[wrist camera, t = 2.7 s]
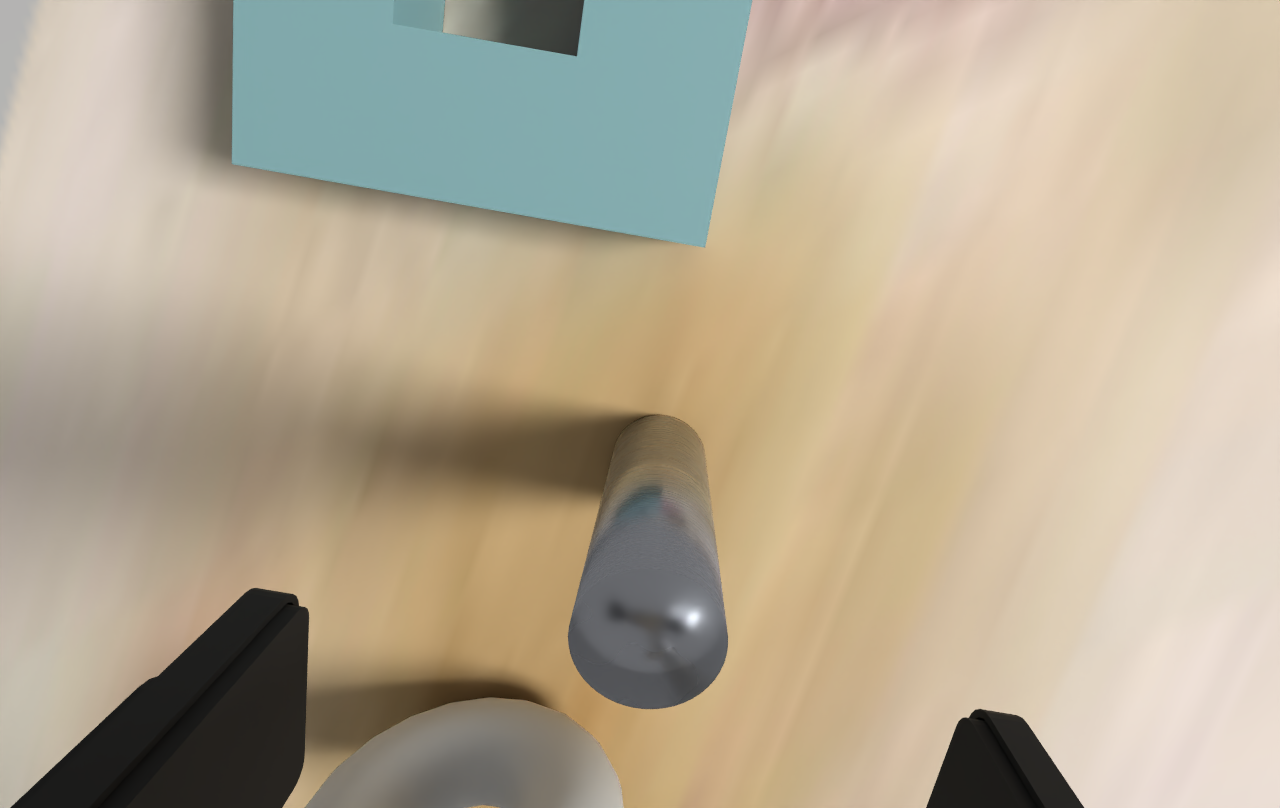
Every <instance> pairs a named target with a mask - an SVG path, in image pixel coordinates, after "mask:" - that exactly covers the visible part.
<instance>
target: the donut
mask: <svg viewBox="0 0 1280 808" xmlns="http://www.w3.org/2000/svg"><path fill="white" fill-rule="evenodd" d="M479 805H487V806H496V807H500V808H623V799H622V790H621V785H620V782H619V779H618V776H617V774H616V772H615V770H614V769H613V767H612V765H611V763H610V761H609V759H608V758H607V756H606V754H605V752H604V750H603V749H602V747H601V745H600V743H599V742H598V741H597V740H596V739H595V738H594V737H593V736H592V735H591V734H590V733H589V732H587V731H586V730H585V729H584V728H582V727H581V726H580V725H579V724H577V723H576V722H575V721H574V720H572V719H571V718H570V717H569V716H567V715H566V714H564V713H561V712H559V711H556V710H553V709H550V708H547V707H545V706H542V705H539V704H536V703H533V702H530V701H527V700H517V699H504V698H492V697H488V698H481V699H474V700H467V701H460V702H452V703H448V704H446V705H443V706H440V707H437V708H434V709H431V710H428V711H425V712H422V713H419V714H416V715H413V716H411V717H409V718H407V719H405V720H403V721H402V722H400V723H398V724H396V725H394V726H393V727H391V728H389V729H387V730H385V731H384V732H382V733H380V734H378V735H377V736H375V737H373V738H372V739H370V740H369V741H368V742H367V743H366V744H364V745H363V746H362V747H361V748H360V749H358V750H357V751H356V752H355V753H354V754H352V755H351V756H350V757H349V758H348V759H346V760H345V761H344V762H343V763H342V764H340V765H339V766H338V767H337V768H336V769H335V770H334V771H333V772H332V773H331V775H330V776H329V777H328V778H327V780H326V781H325V782H324V783H323V785H322V786H321V787H320V789H319V790H318V791H317V792H316V794H315V795H314V796H313V798H312V799H311V800H310V801H309V803H308V804H307V805H306V806H305V808H466V807H473V806H479Z"/></svg>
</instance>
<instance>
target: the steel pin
mask: <svg viewBox="0 0 1280 808" xmlns="http://www.w3.org/2000/svg"><path fill="white" fill-rule="evenodd" d="M568 641H569V649H570V654H571V657H572V659H573V662H574V664H575V666H576V668H577V670H578V672H579V673H580V674H581V676H582V677H583V679H584V680H585V681H586V682H587V683H588V684H589V685H590V686H591V687H592V688H593V689H595V690H596V691H597V692H598V693H600V694H601V695H603V696H604V697H606V698H608V699H610V700H612V701H614V702H616V703H619V704H622V705H625V706H629V707H634V708H641V709H660V708H667V707H672V706H675V705H678V704H681V703H684V702H686V701H688V700H690V699H692V698H694V697H696V696H697V695H699V694H700V693H701V692H703V691H704V690H705V689H706V688H707V687H708V686H709V685H710V684H711V683H712V682H713V681H714V680H715V678H716V677H717V675H718V674H719V672H720V670H721V668H722V666H723V664H724V661H725V658H726V654H727V648H728V634H727V626H726V618H725V610H724V602H723V594H722V586H721V578H720V570H719V562H718V554H717V546H716V538H715V530H714V522H713V514H712V506H711V498H710V490H709V482H708V474H707V466H706V458H705V451H704V447H703V444H702V442H701V439H700V438H699V436H698V435H697V433H696V432H695V431H694V430H693V429H692V428H691V427H690V426H689V425H688V424H686V423H685V422H683V421H681V420H679V419H677V418H674V417H671V416H666V415H652V416H647V417H643V418H641V419H638V420H636V421H634V422H633V423H631V424H630V425H629V426H627V427H626V428H625V429H624V430H623V432H622V433H621V434H620V436H619V438H618V439H617V442H616V444H615V447H614V451H613V455H612V459H611V463H610V467H609V471H608V475H607V479H606V483H605V487H604V491H603V495H602V499H601V503H600V506H599V510H598V514H597V518H596V522H595V526H594V530H593V534H592V538H591V542H590V546H589V550H588V554H587V558H586V562H585V566H584V570H583V574H582V577H581V581H580V585H579V589H578V593H577V597H576V601H575V605H574V609H573V613H572V617H571V621H570V625H569V633H568Z"/></svg>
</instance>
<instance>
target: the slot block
mask: <svg viewBox="0 0 1280 808" xmlns="http://www.w3.org/2000/svg"><path fill="white" fill-rule="evenodd" d="M751 4H752V0H584V7H583V14H582V22H581V30H580V37H579V45H578V52H577V56H572V55H566V54H560V53H555V52H549V51H543V50H538V49H532V48H526V47H521V46H515V45H509V44H504V43H498V42H492V41H487V40H481V39H475V38H470V37H464V36H458V35H453V34H447V33H442V31H443V19H444V7H445V0H233V96H232V164H235V165H240V166H246V167H252V168H257V169H263V170H269V171H274V172H280V173H286V174H291V175H297V176H303V177H308V178H314V179H320V180H325V181H331V182H337V183H342V184H348V185H354V186H359V187H365V188H371V189H376V190H382V191H388V192H393V193H399V194H405V195H410V196H416V197H422V198H427V199H433V200H439V201H444V202H450V203H456V204H461V205H467V206H473V207H478V208H484V209H490V210H495V211H501V212H507V213H512V214H518V215H524V216H529V217H535V218H540V219H546V220H552V221H557V222H563V223H569V224H574V225H580V226H586V227H591V228H597V229H603V230H608V231H614V232H620V233H625V234H631V235H637V236H642V237H648V238H654V239H659V240H665V241H671V242H676V243H682V244H688V245H693V246H699V247H705V245H706V240H707V235H708V229H709V224H710V219H711V214H712V208H713V203H714V198H715V193H716V187H717V182H718V177H719V172H720V167H721V161H722V156H723V151H724V146H725V140H726V135H727V130H728V125H729V119H730V114H731V109H732V104H733V98H734V93H735V88H736V83H737V77H738V72H739V67H740V62H741V57H742V51H743V46H744V41H745V36H746V30H747V25H748V20H749V15H750V9H751Z"/></svg>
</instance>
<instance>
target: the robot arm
mask: <svg viewBox="0 0 1280 808" xmlns="http://www.w3.org/2000/svg"><path fill="white" fill-rule="evenodd" d="M308 632H309V612H308V609H307V608H305V607H301V606H299V602H298V599H297V596H295V595H294V594H289V593H283V592H277V591H271V590H265V589H259V588H253V589H250V590H249V591H247V592H246V593H245V594H244V595H243V596H242V597H241V598H239V599H238V600H237V601H236V602H235V603H234V604H233V605H232V606H231V607H230V608H229V609H228V610H227V611H226V612H225V613H224V614H223V615H222V616H221V617H220V618H219V619H218V620H216V621H215V622H214V623H213V624H212V625H211V626H210V627H209V628H208V629H207V630H206V631H205V632H204V633H203V634H202V635H201V636H200V637H199V638H198V639H197V640H196V641H194V642H193V643H192V644H191V645H190V646H189V647H188V648H187V649H186V650H185V651H184V652H183V653H182V654H181V655H180V656H179V657H178V658H177V659H176V660H175V661H174V662H172V663H171V664H170V665H169V666H168V667H167V668H166V669H165V670H164V671H163V672H162V673H161V674H160V675H159V676H157V677H154V678H151V679H149V680H148V681H146V682H145V683H144V684H142V685H141V686H140V687H138V688H137V689H136V690H135V691H134V692H133V693H132V694H131V695H130V696H129V697H128V698H127V699H125V700H124V701H123V702H122V703H121V704H120V705H119V706H118V707H117V708H116V709H115V710H114V711H113V712H112V713H111V714H110V715H108V716H107V717H106V718H105V719H104V720H103V721H102V722H101V723H100V724H99V725H98V726H97V727H96V728H95V729H94V730H93V731H91V732H90V733H89V734H88V735H87V736H86V737H85V738H84V739H83V740H82V741H81V742H80V743H79V744H78V745H77V746H75V747H74V748H73V749H72V750H71V751H70V752H69V753H68V754H67V755H66V756H65V757H64V758H63V759H62V760H61V761H60V762H58V763H57V764H56V765H55V766H54V767H53V768H52V769H51V770H50V771H49V772H48V773H47V774H46V775H45V776H44V777H43V778H41V779H40V780H39V781H38V782H37V783H36V784H35V785H34V786H33V787H32V788H31V789H30V790H29V791H28V792H27V793H26V794H24V795H23V796H22V797H21V798H20V799H19V800H18V801H17V802H16V803H15V804H14V805H13V806H12V807H11V808H282V807H283V805H284V804H285V802H286V801H287V799H288V797H289V796H290V794H291V793H292V791H293V789H294V787H295V786H296V784H297V782H298V779H299V777H300V774H301V771H302V768H303V763H304V754H305V723H306V693H307V662H308ZM926 808H1084V807H1083V805H1082V804H1081V802H1080V801H1079V799H1078V798H1077V796H1076V795H1075V793H1074V792H1073V790H1072V789H1071V788H1070V786H1069V785H1068V783H1067V782H1066V780H1065V779H1064V777H1063V776H1062V774H1061V773H1060V771H1059V770H1058V768H1057V767H1056V765H1055V764H1054V762H1053V761H1052V759H1051V758H1050V756H1049V755H1048V753H1047V752H1046V751H1045V749H1044V748H1043V746H1042V745H1041V743H1040V742H1039V740H1038V739H1037V737H1036V736H1035V734H1034V733H1033V731H1032V730H1031V728H1030V727H1029V725H1028V724H1027V723H1026V722H1025V720H1024V719H1023V718H1021V717H1019V716H1017V715H1012V714H1006V713H1000V712H994V711H988V710H982V709H978V710H975V711H974V712H972V713H971V715H970V717H969V718H962V719H961V720H960V721H959V722H958V724H957V726H956V729H955V732H954V734H953V737H952V740H951V742H950V745H949V748H948V750H947V753H946V756H945V759H944V761H943V764H942V767H941V769H940V772H939V775H938V777H937V780H936V783H935V786H934V788H933V791H932V794H931V796H930V799H929V802H928V804H927V807H926Z"/></svg>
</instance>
